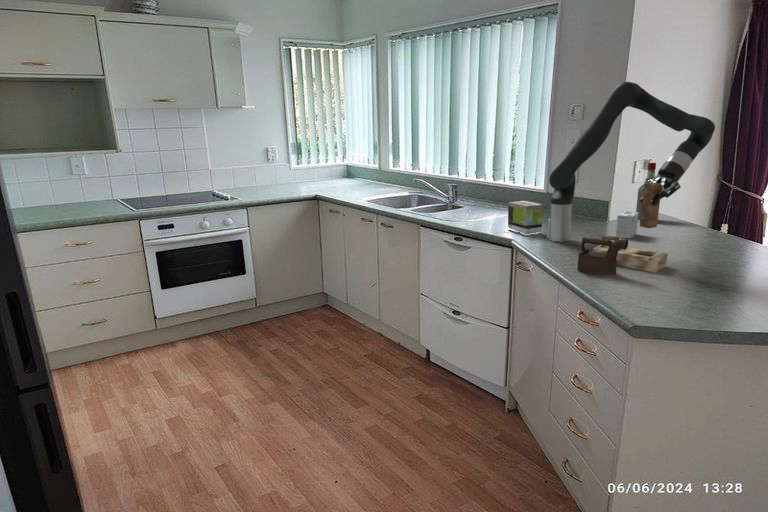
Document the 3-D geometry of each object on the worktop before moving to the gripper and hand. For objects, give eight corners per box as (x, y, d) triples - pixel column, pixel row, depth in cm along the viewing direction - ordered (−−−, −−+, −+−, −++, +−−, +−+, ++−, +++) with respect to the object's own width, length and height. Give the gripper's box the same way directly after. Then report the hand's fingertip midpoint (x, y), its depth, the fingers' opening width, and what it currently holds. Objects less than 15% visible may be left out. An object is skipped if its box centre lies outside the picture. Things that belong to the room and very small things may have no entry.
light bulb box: (621, 232, 238) (623, 210, 235) (636, 234, 234) (639, 212, 231) (615, 237, 230) (617, 214, 227) (630, 239, 226) (632, 216, 223)
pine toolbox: (591, 260, 198) (593, 236, 195) (603, 255, 204) (604, 232, 201) (656, 272, 180) (658, 246, 178) (666, 266, 187) (669, 241, 184)
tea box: (542, 233, 243) (543, 204, 239) (525, 236, 239) (526, 206, 235) (523, 228, 256) (524, 199, 252) (506, 230, 253) (507, 201, 249)
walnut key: (639, 226, 185) (644, 183, 180) (647, 225, 186) (652, 182, 182) (648, 228, 181) (653, 184, 177) (656, 227, 183) (661, 183, 178)
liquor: (632, 220, 262) (637, 163, 254) (645, 218, 265) (651, 161, 257) (646, 223, 254) (652, 164, 245) (660, 221, 257) (666, 163, 248)
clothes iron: (620, 278, 176) (623, 242, 173) (575, 270, 187) (577, 236, 183) (627, 272, 182) (630, 237, 178) (583, 265, 192) (585, 231, 189)
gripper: (653, 158, 186) (626, 194, 185) (688, 161, 173) (659, 199, 172) (662, 171, 189) (635, 206, 189) (697, 175, 177) (668, 212, 176)
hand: (647, 203), depth 181 cm, fingers closed on walnut key, 4 cm apart
